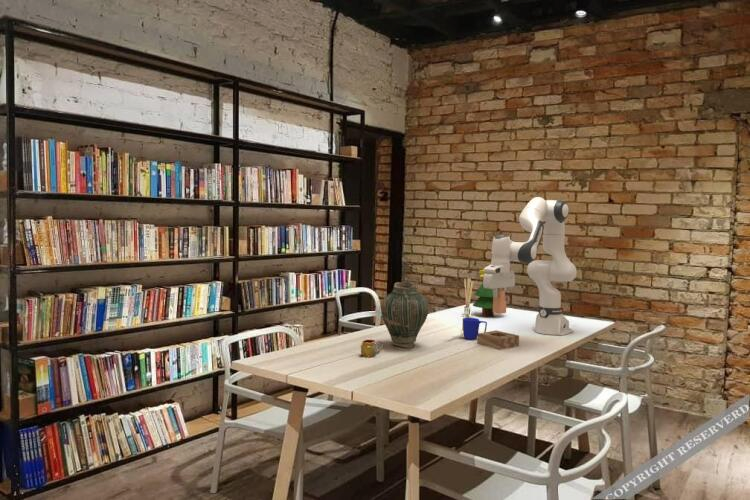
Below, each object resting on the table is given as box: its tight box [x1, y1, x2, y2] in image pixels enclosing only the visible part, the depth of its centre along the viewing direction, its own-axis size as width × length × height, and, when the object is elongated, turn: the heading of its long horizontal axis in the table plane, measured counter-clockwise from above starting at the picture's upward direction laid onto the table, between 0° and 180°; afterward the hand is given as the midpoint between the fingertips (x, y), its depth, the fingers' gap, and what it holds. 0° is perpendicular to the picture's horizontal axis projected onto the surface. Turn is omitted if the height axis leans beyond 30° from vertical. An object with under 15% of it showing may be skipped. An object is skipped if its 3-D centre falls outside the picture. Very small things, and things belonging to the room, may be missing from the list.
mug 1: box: [360, 339, 384, 358], centre depth 249 cm, size 12×7×7 cm, turn 132°
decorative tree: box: [472, 269, 501, 318], centre depth 350 cm, size 19×19×30 cm
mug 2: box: [462, 317, 488, 341], centre depth 285 cm, size 8×12×10 cm
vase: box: [380, 281, 430, 349], centre depth 266 cm, size 22×22×30 cm
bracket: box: [493, 289, 507, 315], centre depth 272 cm, size 4×4×11 cm
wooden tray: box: [476, 330, 520, 351], centre depth 274 cm, size 14×14×5 cm
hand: (498, 297), depth 272 cm, fingers closed on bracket, 3 cm apart
